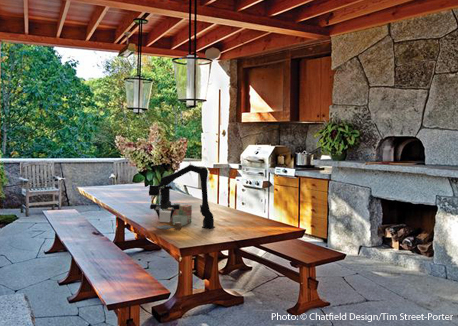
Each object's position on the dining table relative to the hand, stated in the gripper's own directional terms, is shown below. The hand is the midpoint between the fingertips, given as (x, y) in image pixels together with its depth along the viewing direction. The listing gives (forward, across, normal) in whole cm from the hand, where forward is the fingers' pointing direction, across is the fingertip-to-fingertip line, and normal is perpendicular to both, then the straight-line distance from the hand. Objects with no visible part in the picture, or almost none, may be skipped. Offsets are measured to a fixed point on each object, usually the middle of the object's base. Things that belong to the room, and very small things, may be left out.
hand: (165, 219), depth 271 cm
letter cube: (+6, +9, -2) cm, 10 cm away
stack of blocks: (+6, +6, +19) cm, 21 cm away
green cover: (+5, +9, +9) cm, 14 cm away
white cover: (+1, 0, 0) cm, 1 cm away
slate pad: (+5, 0, 0) cm, 5 cm away
